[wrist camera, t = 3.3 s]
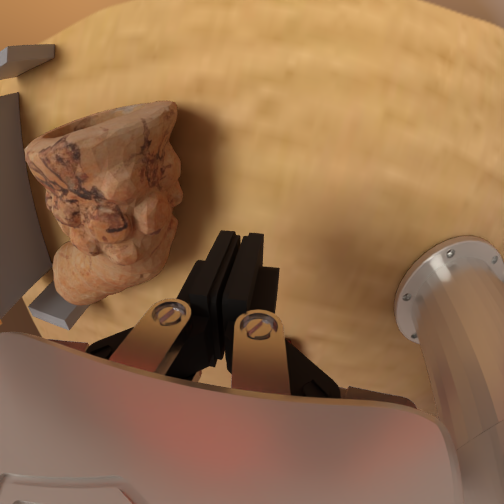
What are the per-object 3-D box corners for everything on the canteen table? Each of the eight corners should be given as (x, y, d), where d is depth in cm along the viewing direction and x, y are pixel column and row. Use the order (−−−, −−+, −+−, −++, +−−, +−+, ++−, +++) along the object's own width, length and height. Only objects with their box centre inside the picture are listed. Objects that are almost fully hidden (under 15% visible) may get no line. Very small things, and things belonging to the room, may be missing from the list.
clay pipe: (254, 184, 25) (155, 40, 16) (255, 280, 18) (81, 66, 8) (112, 254, 31) (25, 166, 22) (84, 333, 24) (-33, 237, 15)
